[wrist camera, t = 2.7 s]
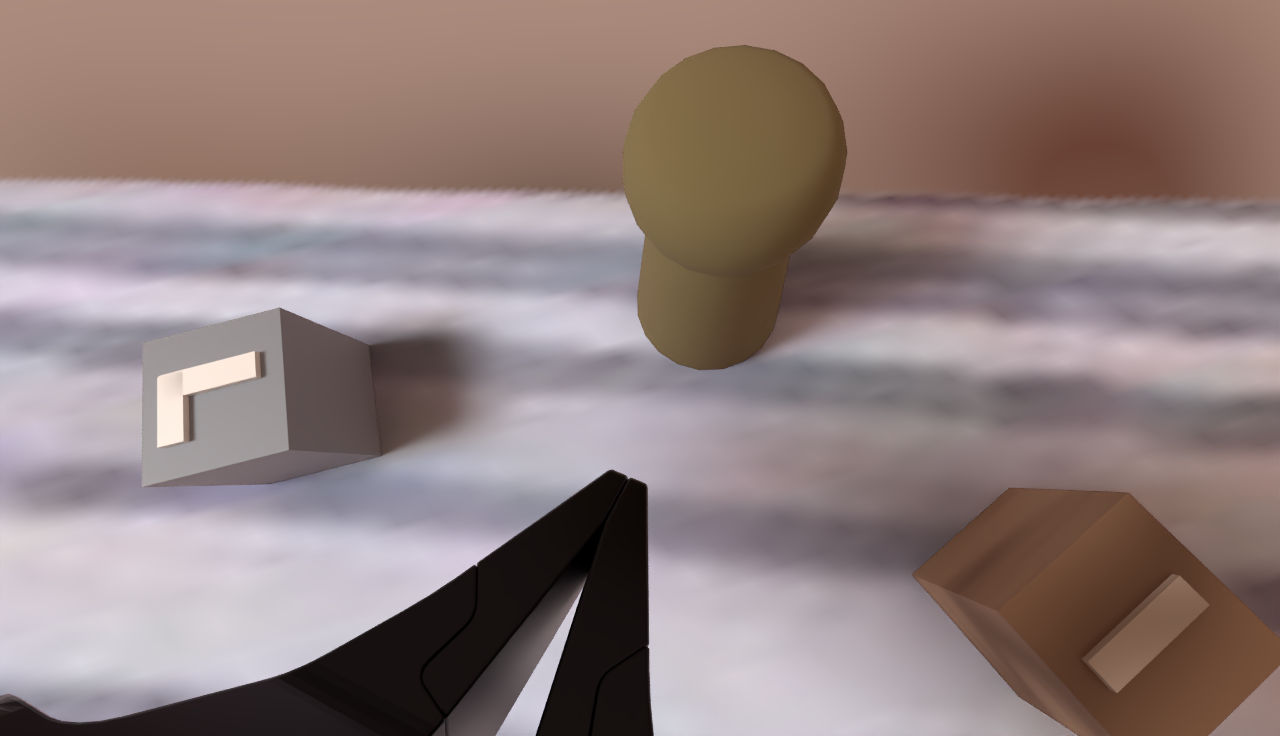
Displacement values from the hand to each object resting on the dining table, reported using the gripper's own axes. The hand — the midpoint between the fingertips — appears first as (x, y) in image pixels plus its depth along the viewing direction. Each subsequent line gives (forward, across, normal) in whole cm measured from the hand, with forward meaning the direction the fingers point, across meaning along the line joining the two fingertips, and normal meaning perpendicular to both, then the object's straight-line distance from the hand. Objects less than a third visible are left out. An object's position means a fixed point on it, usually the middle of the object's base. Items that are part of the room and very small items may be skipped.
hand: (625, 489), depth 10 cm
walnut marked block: (+8, -14, +6) cm, 17 cm away
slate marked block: (+5, +14, +9) cm, 17 cm away
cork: (+12, +1, +1) cm, 12 cm away
